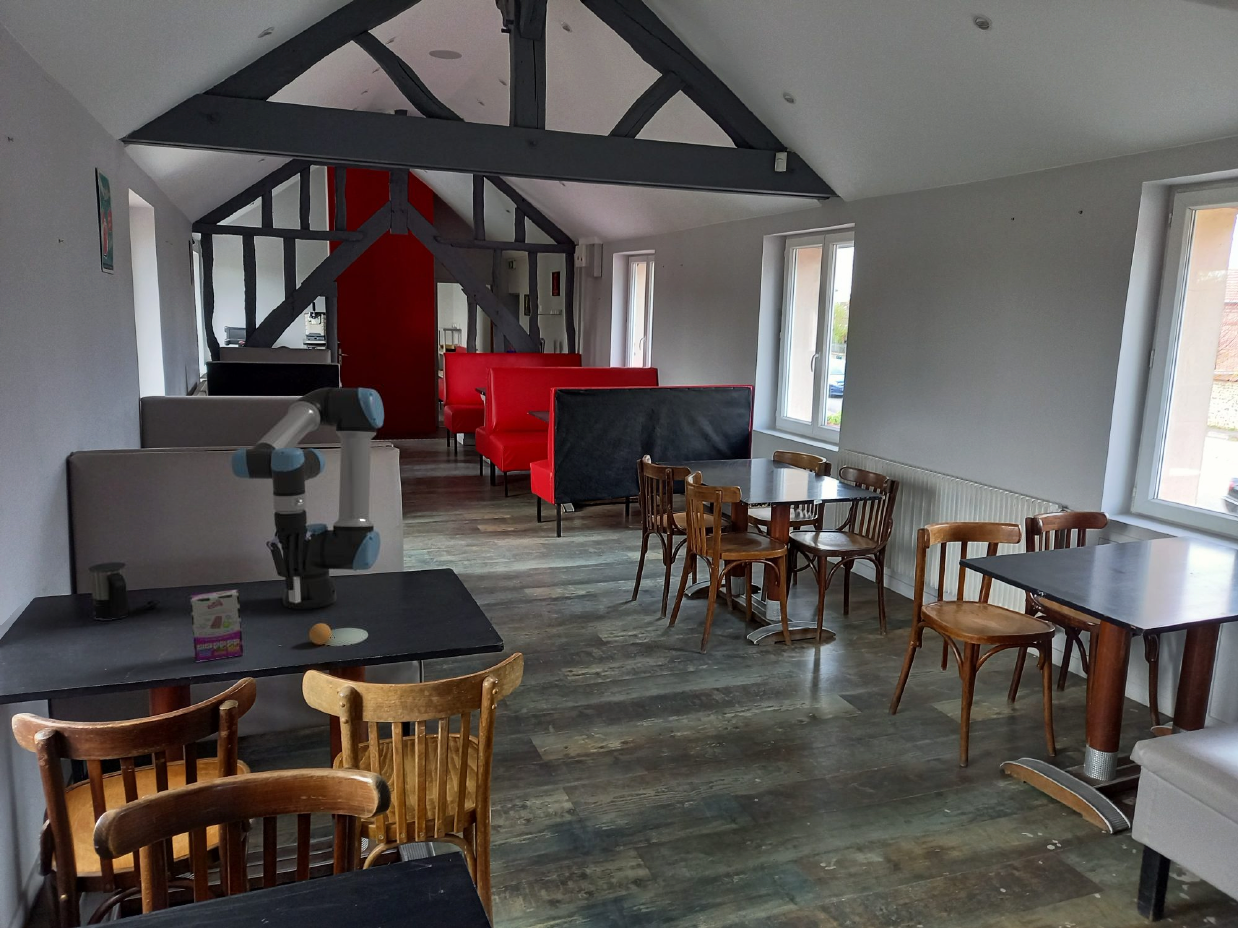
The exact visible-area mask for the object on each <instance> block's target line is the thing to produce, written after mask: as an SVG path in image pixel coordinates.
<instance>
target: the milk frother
mask: <svg viewBox="0 0 1238 928" xmlns="http://www.w3.org/2000/svg"><path fill="white" fill-rule="evenodd" d="M126 565H127V564H126V563H124V562H120V561H119V562H118V561H117V562H115V561H112V562H111V561H110V562H104V563H100V564H95V565H91V566H89V567H88V569H87V570H88V571H89V576H90V588H91V589H90V590H91V597H92V607H93V612H92V613H93V616H95V617H96V618H102V619H110V618H111V619H112V618H120V617H122V616H126V615H128V614H129V613H130V614H131V613H135V612H137V611H141V610H144V609H147V608H148V609H149V610H150V608H154V609H156V608H157V607H158V605H160V604H162V603H163V601H162V600H161V599H159V600H154V599H151V600H147V602H146V604H144V605H140V606H137V607H136V608H134V609H132V610H130V607H129V601H128V600H129V599H128V592H127V591H128V588H127V579H126ZM155 607H156V608H155ZM130 614H129V615H130ZM129 615H128V616H129ZM126 617H127V616H126Z"/></svg>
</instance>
